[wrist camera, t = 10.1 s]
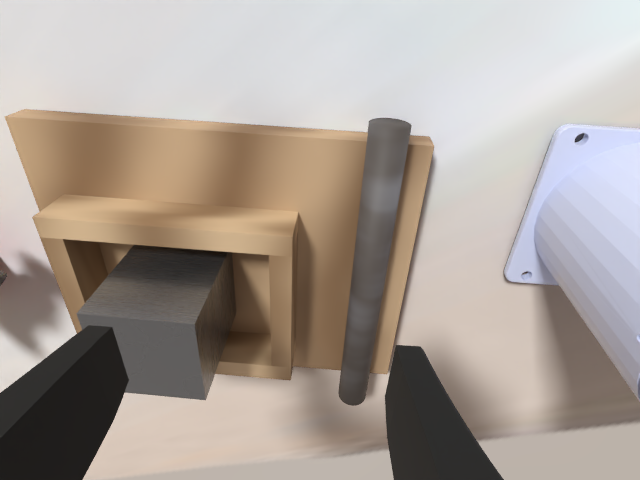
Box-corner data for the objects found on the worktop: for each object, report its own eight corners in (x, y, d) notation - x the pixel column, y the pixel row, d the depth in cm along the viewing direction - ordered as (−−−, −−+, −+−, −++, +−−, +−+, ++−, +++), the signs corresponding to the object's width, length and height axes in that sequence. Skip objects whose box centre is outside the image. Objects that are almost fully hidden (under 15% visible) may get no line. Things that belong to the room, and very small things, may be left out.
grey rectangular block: (231, 244, 20) (194, 324, 15) (236, 313, 22) (205, 400, 18) (140, 236, 20) (76, 313, 15) (155, 305, 22) (103, 390, 18)
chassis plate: (433, 113, 17) (450, 139, 14) (383, 369, 26) (387, 417, 23) (16, 85, 17) (-50, 105, 15) (104, 345, 26) (73, 389, 23)
